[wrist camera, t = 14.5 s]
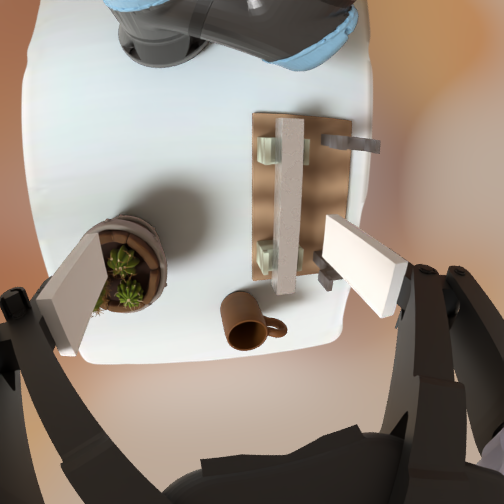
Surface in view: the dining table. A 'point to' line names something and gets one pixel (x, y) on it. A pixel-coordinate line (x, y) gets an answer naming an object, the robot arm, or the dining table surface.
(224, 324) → the mug
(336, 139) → the rack
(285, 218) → the rail
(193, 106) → the dining table surface
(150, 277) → the flowerpot
